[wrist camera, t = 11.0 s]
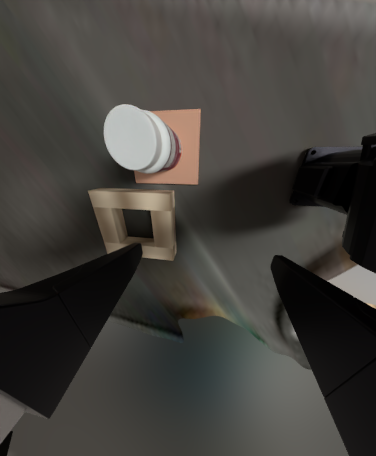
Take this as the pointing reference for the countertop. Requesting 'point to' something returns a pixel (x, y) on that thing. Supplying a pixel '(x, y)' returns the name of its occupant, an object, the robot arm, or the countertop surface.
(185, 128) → the terracotta tile
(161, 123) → the pill bottle
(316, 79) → the countertop surface
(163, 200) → the frame block
